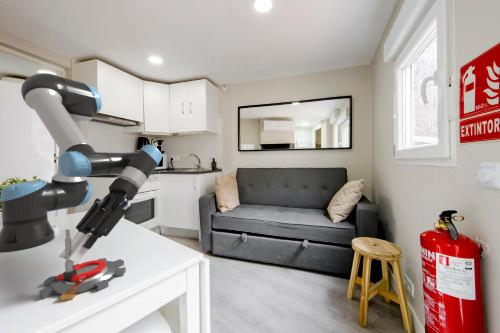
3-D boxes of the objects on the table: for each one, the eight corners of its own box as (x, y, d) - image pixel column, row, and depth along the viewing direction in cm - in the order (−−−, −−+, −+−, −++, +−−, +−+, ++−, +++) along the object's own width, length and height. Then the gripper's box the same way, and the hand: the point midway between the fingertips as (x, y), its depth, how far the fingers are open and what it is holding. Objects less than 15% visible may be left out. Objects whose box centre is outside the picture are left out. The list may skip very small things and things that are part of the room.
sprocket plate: (29, 285, 52) (29, 280, 52) (107, 256, 67) (107, 253, 67) (55, 311, 43) (55, 305, 43) (138, 271, 58) (138, 267, 58)
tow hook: (88, 262, 60) (53, 281, 51) (86, 219, 60) (49, 230, 51) (113, 265, 59) (81, 284, 50) (111, 220, 58) (78, 232, 49)
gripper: (153, 192, 65) (101, 270, 51) (118, 190, 71) (62, 260, 56) (138, 177, 60) (76, 259, 45) (102, 176, 66) (35, 248, 51)
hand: (68, 259), depth 51 cm, fingers open, 3 cm apart
